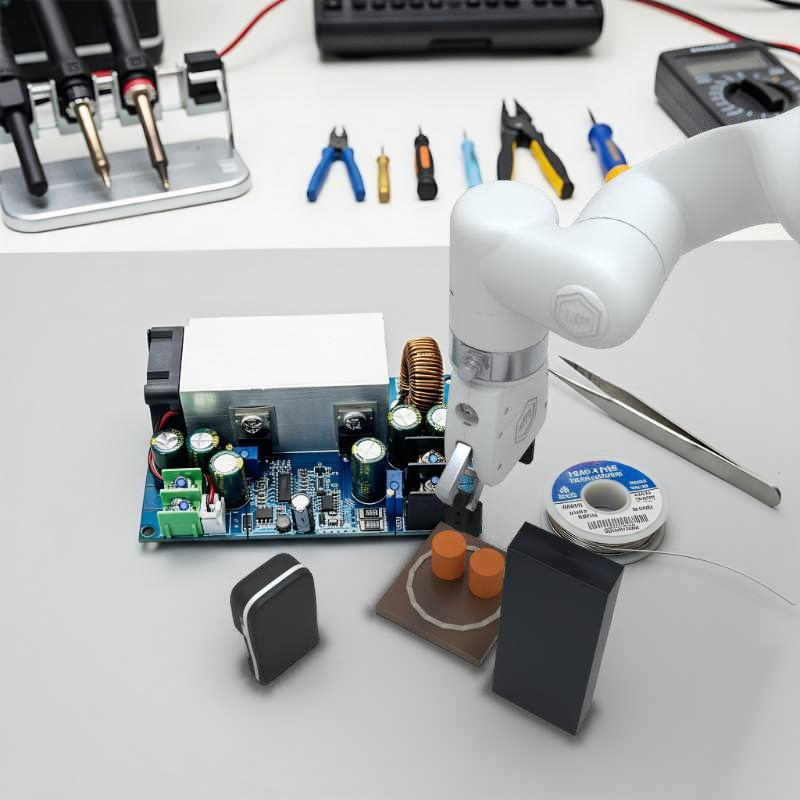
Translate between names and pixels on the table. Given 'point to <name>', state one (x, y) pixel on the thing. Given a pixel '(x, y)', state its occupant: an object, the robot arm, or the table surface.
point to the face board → (444, 604)
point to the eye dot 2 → (486, 573)
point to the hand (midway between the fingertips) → (490, 492)
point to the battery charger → (276, 614)
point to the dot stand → (553, 625)
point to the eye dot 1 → (448, 555)
